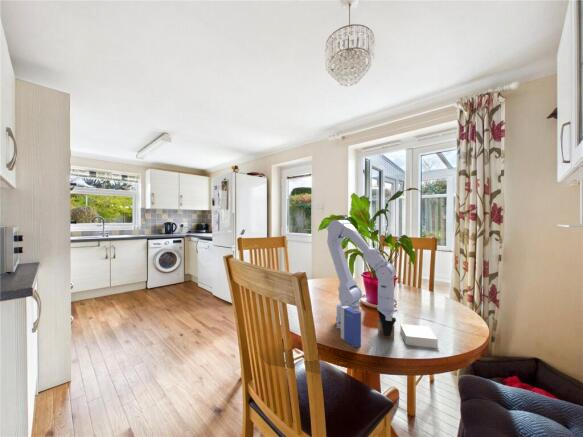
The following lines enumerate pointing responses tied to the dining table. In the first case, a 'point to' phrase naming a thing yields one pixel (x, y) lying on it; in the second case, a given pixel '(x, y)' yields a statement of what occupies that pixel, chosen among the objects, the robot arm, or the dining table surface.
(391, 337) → the walnut cube
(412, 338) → the base block
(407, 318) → the dining table surface
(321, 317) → the dining table surface
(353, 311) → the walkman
